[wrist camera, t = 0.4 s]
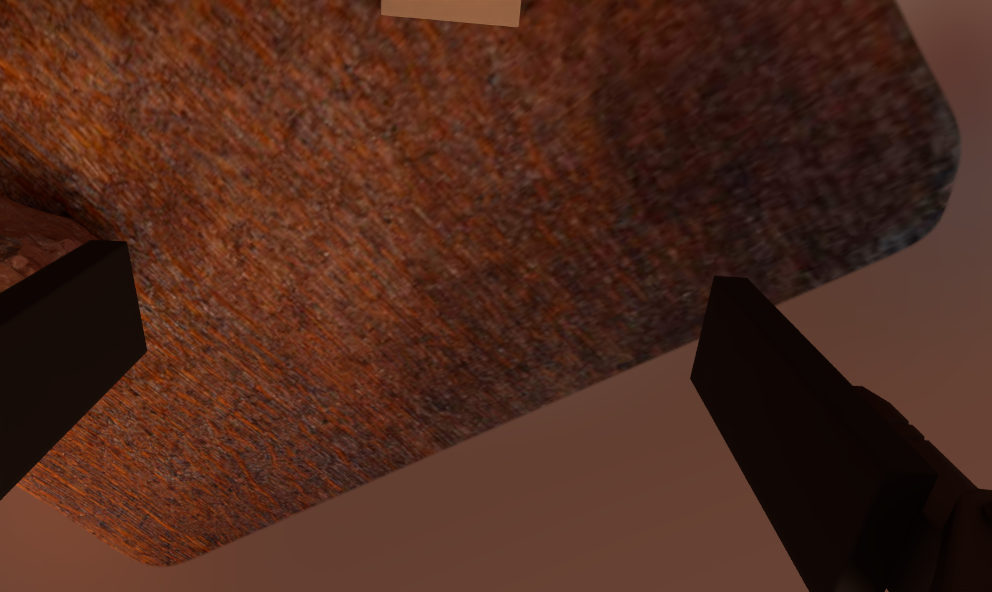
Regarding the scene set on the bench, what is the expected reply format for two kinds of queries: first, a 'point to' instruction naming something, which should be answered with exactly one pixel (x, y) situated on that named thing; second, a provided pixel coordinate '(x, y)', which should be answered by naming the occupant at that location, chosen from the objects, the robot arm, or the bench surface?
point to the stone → (33, 240)
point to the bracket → (457, 10)
